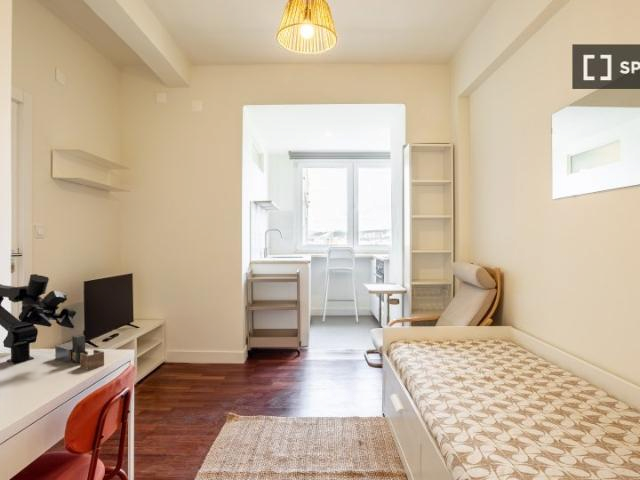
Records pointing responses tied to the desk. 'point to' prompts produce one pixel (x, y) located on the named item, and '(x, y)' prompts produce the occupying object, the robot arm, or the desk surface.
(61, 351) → the sleeve
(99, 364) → the socket
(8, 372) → the desk surface
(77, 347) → the slider
